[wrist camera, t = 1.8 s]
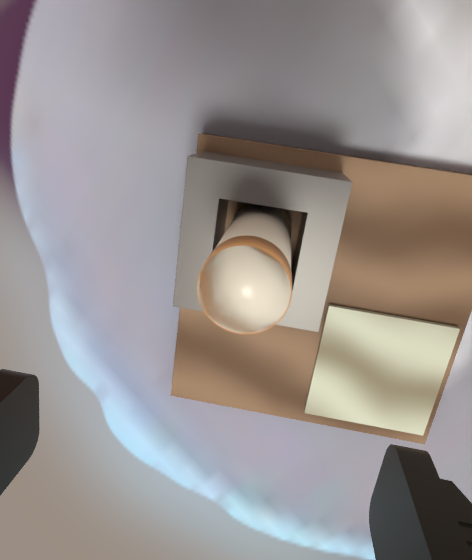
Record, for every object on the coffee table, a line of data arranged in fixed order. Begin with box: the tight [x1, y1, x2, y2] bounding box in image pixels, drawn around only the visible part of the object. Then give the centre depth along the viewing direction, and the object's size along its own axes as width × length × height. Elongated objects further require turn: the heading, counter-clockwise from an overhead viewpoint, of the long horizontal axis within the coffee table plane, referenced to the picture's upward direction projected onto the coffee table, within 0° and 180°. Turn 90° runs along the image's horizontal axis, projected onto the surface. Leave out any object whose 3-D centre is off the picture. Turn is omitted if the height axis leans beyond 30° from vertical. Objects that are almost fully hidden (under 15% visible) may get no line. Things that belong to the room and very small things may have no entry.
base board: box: [171, 134, 472, 444], centre depth 32 cm, size 20×20×2 cm
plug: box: [197, 203, 292, 334], centre depth 25 cm, size 4×4×12 cm
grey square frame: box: [173, 151, 352, 332], centre depth 28 cm, size 9×9×5 cm
